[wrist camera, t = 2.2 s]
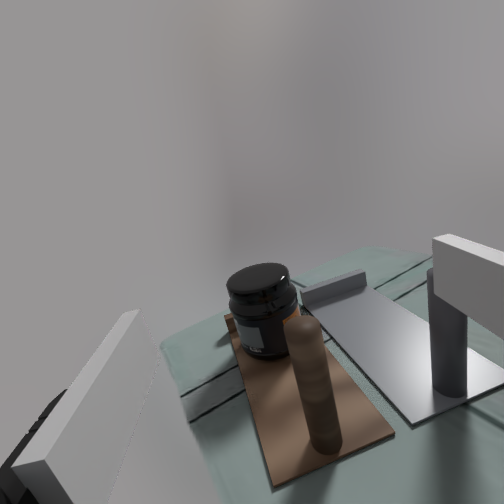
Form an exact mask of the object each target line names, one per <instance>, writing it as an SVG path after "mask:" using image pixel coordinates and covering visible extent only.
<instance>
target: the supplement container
mask: <svg viewBox="0 0 504 504" xmlns="http://www.w3.org/2000/svg"><path fill="white" fill-rule="evenodd" d="M226 286H227V290H228V293H229V296H230V301H229V308H230V311H231V313H232V315H233V318H234V322H235V325H236V328H237V331H238V335H239V338H240V342H241V346H242V348H243V350H244V352H245V353H246V354H247V355H248V356H250V357H251V358H254V359H256V360H261V361H273V360H278V359H282V358H284V357H287V356H289V355H290V354H289V350H288V345H287V341H286V337H285V333H284V325H285V323H286V322H287V321H288V320H290V319H291V318H293V317H296V316H301V314H300V309H299V305H298V300H297V291H296V288H295V286H294V285H293V284H292V283H291V280H290V275H289V271H288V269H287V267H285V266H284V265H281V264H278V263H262V264H257V265H253V266H249V267H246V268H244V269H242V270H240V271H238V272H236V273H235V274H233V275H232V276H231V277H230V278H229V279H228V281H227V284H226Z"/></svg>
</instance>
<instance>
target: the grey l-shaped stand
mask: <svg viewBox="0 0 504 504" xmlns="http://www.w3.org/2000/svg"><path fill="white" fill-rule="evenodd" d="M427 290H428V310H429V323H428V322H426V321H424V320H423V319H421V318H419V317H418V316H416V315H415V314H413V313H411V312H410V311H408V310H406V309H405V308H403V307H402V306H400V305H398V304H397V303H395V302H393V301H392V300H390V299H389V298H387V297H385V296H384V295H382V294H380V293H379V292H377V291H375V290H374V289H372V288H371V287H369V286H367V282H366V274H365V271H363V270H362V269H358V270H355V271H352V272H349V273H346V274H344V275H341V276H338V277H335V278H332V279H329V280H326V281H323V282H320V283H317V284H314V285H311V286H309V287H306V288H303V289H300V294H301V299H302V303H303V305H304V306H305V308H306V309H307V310H308V311H309V312H310V313H311V314H312V315H313V316H314V317H315V318H317V319H318V320H319V322H320V324H321V325H322V326H323V327H324V329H325V330H326V331H327V332H328V333H329V334H330V335H331V336H332V337H333V339H334V340H335V341H336V342H337V343H338V344H339V345H340V346H341V347H342V348H343V350H344V351H345V352H346V353H347V354H348V355H349V356H350V357H351V358H352V360H353V361H354V362H355V363H356V364H357V365H358V366H359V367H360V368H361V370H362V371H363V372H364V373H365V374H366V375H367V376H368V377H369V378H370V379H371V381H372V382H373V383H374V384H375V385H376V386H377V387H378V388H379V389H380V391H381V392H382V393H383V394H384V395H385V396H386V397H387V398H388V399H389V400H390V402H391V403H392V404H393V405H394V406H395V407H396V408H397V409H398V410H399V412H400V413H401V414H402V415H403V416H404V417H405V418H406V419H407V420H408V421H409V423H410V424H411V425H412V426H413V425H415V424H418V423H420V422H422V421H424V420H427V419H429V418H431V417H433V416H436V415H438V414H440V413H442V412H445V411H447V410H449V409H451V408H453V407H456V406H458V405H460V404H462V403H465V402H467V401H469V400H471V399H474V398H476V397H478V396H480V395H482V394H485V393H487V392H489V391H491V390H494V389H496V388H498V387H500V386H503V385H504V369H502V368H501V367H499V366H498V365H496V364H494V363H493V362H491V361H489V360H488V359H486V358H485V357H483V356H481V355H480V354H478V353H476V352H475V351H473V350H471V349H470V348H468V347H467V315H465V314H464V313H462V312H461V311H459V310H458V309H456V308H455V307H453V306H452V305H450V304H449V303H447V302H446V301H444V300H443V299H441V298H440V297H438V296H437V295H435V294H434V279H433V268H430V269H429V270H428V271H427Z"/></svg>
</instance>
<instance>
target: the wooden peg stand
mask: <svg viewBox="0 0 504 504" xmlns="http://www.w3.org/2000/svg"><path fill="white" fill-rule="evenodd" d="M224 317H225V321H226V324H227V327H228V330H229V333H230V337H231V340H232V344H233V347H234V351H235V354H236V358H237V361H238V365H239V368H240V372H241V375H242V379H243V382H244V386H245V389H246V392H247V396H248V399H249V403H250V406H251V410H252V413H253V417H254V420H255V424H256V427H257V431H258V434H259V438H260V441H261V445H262V448H263V452H264V455H265V459H266V462H267V466H268V469H269V473H270V476H271V479H272V483H273V486H274V488H275V487H278V486H280V485H282V484H284V483H287V482H289V481H291V480H293V479H295V478H298V477H300V476H302V475H304V474H307V473H309V472H311V471H313V470H316V469H318V468H320V467H322V466H324V465H327V464H329V463H331V462H333V461H336V460H338V459H340V458H342V457H345V456H347V455H349V454H351V453H353V452H356V451H358V450H360V449H362V448H365V447H367V446H369V445H371V444H374V443H376V442H378V441H380V440H382V439H385V438H387V437H389V436H391V435H394V434H395V431H394V430H393V428H392V427H391V426H390V425H389V423H388V422H387V421H386V420H385V419H384V417H383V416H382V415H381V414H380V412H379V411H378V410H377V409H376V408H375V406H374V405H373V404H372V403H371V401H370V400H369V399H368V398H367V397H366V395H365V394H364V393H363V392H362V390H361V389H360V388H359V387H358V386H357V384H356V383H355V382H354V381H353V379H352V378H351V377H350V376H349V375H348V373H347V372H346V371H345V370H344V368H343V367H342V366H341V365H340V364H339V362H338V361H337V360H336V359H335V357H334V356H333V355H332V354H331V353H330V351H329V350H328V349H327V348H326V346H325V345H324V341H323V336H322V331H321V326H320V322H319V320H318V319H317V318H315V317H313V316H309V315H301V316H296V317H293V318H291V319H290V320H288V321H287V322H286V323H285V325H284V333H285V337H286V341H287V345H288V350H289V354H290V355H289V356H287V357H284V358H282V359H278V360H273V361H261V360H256V359H254V358H251V357H250V356H248V355H247V354H246V353H245V352H244V350H243V348H242V346H241V342H240V338H239V335H238V331H237V328H236V325H235V322H234V318H233V315H232V313H230V314H227V315H224Z"/></svg>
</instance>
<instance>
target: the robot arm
mask: <svg viewBox="0 0 504 504" xmlns="http://www.w3.org/2000/svg"><path fill="white" fill-rule="evenodd" d="M432 248H433V249H432V250H433V279H434V294H435V295H437V296H438V297H440V298H441V299H443V300H444V301H446V302H447V303H449V304H450V305H452V306H453V307H455V308H456V309H458V310H459V311H461V312H462V313H464V314H465V315H467V316H468V317H470V318H471V319H473V320H474V321H476V322H477V323H479V324H480V325H482V326H483V327H485V328H486V329H488V330H489V331H491V332H492V333H494V334H495V335H497V336H498V337H500V338H501V339H503V340H504V252H501V251H499V250H495V249H492V248H490V247H487V246H484V245H481V244H478V243H475V242H472V241H469V240H466V239H463V238H461V237H457V236H455V235H452V234H446V235H442V236H438V237H434V238H432ZM160 360H161V358H160V355H159V353H158V350H157V348H156V345H155V343H154V341H153V338H152V336H151V333H150V331H149V328H148V326H147V324H146V322H145V319H144V316H143V314H142V311H141V309H137V310H133V311H129V312H125V313H123V314H122V316H121V317H120V319H119V320H118V322H117V323H116V324H115V325H114V327H113V328H112V329H111V331H110V332H109V334H108V335H107V336H106V338H105V339H104V340H103V342H102V343H101V345H100V346H99V347H98V349H97V350H96V351H95V353H94V354H93V355H92V357H91V358H90V360H89V361H88V362H87V364H86V365H85V366H84V368H83V369H82V370H81V372H80V373H79V375H78V376H77V378H76V379H75V380H74V381H73V383H72V384H71V386H70V387H69V388H68V389H66V390H64V391H63V392H62V393H60V394H59V395H58V396H57V397H56V398H55V399H54V400H53V401H52V402H51V403H49V405H48V406H47V407H46V409H45V410H44V412H42V414H41V415H40V416H39V418H38V421H36V422H35V423H34V425H33V426H32V427H31V428H30V430H29V433H28V434H26V435H25V436H24V437H23V439H22V440H21V441H20V443H19V444H18V445H17V447H16V448H15V449H14V451H13V452H12V453H11V455H10V456H9V457H8V458H7V460H6V461H5V462H4V464H3V465H2V466H1V468H0V504H107V502H108V500H109V497H110V495H111V492H112V489H113V486H114V484H115V481H116V479H117V476H118V473H119V470H120V468H121V465H122V462H123V460H124V457H125V454H126V451H127V449H128V446H129V444H130V441H131V438H132V436H133V433H134V430H135V427H136V425H137V422H138V419H139V417H140V414H141V411H142V409H143V406H144V403H145V400H146V398H147V395H148V393H149V390H150V387H151V384H152V381H153V379H154V376H155V374H156V371H157V368H158V366H159V363H160Z"/></svg>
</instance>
